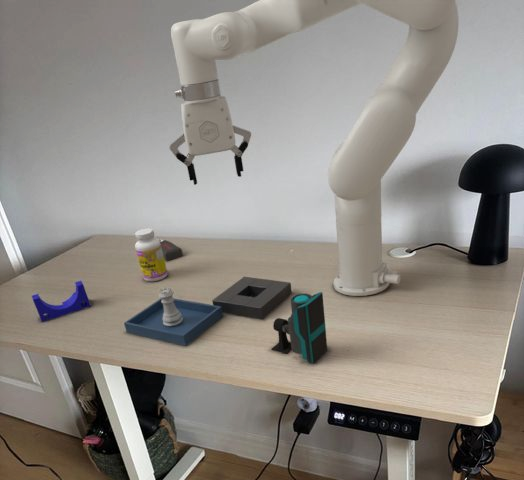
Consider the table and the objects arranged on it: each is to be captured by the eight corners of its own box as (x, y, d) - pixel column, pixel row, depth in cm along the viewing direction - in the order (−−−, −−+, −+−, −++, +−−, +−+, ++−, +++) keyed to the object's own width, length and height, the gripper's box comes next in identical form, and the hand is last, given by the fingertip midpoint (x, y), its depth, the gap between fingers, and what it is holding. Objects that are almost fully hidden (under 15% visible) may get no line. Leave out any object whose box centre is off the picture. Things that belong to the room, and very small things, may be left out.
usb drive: (166, 261, 150) (164, 252, 148) (152, 251, 159) (150, 242, 158) (183, 255, 152) (181, 246, 150) (168, 246, 161) (166, 237, 160)
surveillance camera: (277, 283, 97) (323, 291, 91) (285, 338, 103) (328, 349, 98) (259, 296, 93) (306, 305, 88) (268, 352, 100) (312, 364, 94)
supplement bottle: (139, 281, 139) (125, 236, 133) (152, 271, 144) (140, 226, 138) (160, 282, 137) (147, 236, 130) (172, 272, 142) (161, 226, 135)
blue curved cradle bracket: (87, 300, 134) (79, 278, 131) (90, 306, 130) (83, 284, 127) (39, 315, 130) (30, 293, 127) (42, 321, 126) (32, 299, 123)
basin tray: (223, 316, 115) (221, 306, 114) (186, 346, 106) (183, 335, 105) (165, 305, 124) (163, 296, 123) (126, 332, 115) (123, 322, 114)
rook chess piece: (181, 326, 113) (173, 293, 109) (161, 328, 113) (152, 295, 109) (184, 316, 117) (176, 284, 113) (165, 318, 117) (156, 286, 113)
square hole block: (292, 293, 120) (290, 282, 119) (262, 319, 111) (260, 308, 110) (245, 286, 127) (244, 276, 125) (214, 311, 118) (212, 300, 117)
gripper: (158, 101, 101) (178, 190, 109) (246, 86, 101) (258, 176, 110) (159, 98, 107) (178, 182, 116) (242, 84, 108) (254, 168, 117)
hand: (217, 179), depth 113 cm, fingers open, 9 cm apart
